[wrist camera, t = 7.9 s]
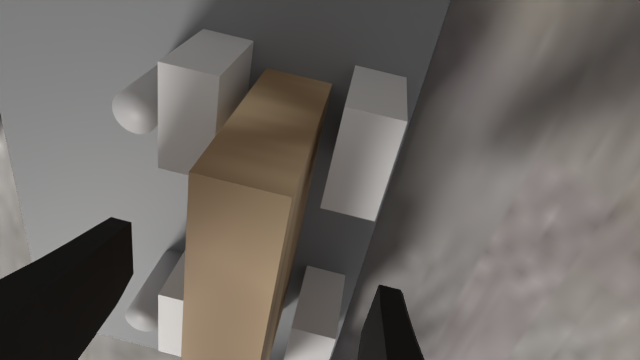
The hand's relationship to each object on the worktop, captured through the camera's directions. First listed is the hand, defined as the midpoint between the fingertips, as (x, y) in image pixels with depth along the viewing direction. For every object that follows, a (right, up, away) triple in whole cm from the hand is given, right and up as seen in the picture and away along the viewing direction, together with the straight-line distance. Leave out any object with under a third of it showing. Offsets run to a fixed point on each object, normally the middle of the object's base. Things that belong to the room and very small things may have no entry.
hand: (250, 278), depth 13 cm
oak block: (0, +2, +3) cm, 4 cm away
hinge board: (-2, +3, +4) cm, 6 cm away
